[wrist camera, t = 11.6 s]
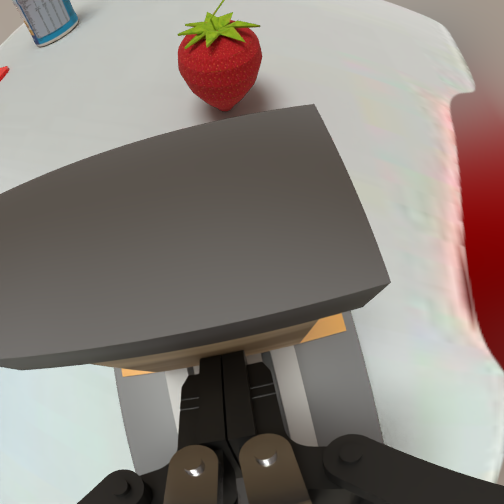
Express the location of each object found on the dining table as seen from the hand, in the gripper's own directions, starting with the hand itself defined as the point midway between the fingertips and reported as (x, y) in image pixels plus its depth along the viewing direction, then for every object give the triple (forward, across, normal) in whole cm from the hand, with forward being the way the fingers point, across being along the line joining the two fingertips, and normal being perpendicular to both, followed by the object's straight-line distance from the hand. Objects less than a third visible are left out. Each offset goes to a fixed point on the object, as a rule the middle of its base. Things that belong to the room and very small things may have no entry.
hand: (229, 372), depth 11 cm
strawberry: (+19, +3, +9) cm, 21 cm away
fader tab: (+4, 0, -1) cm, 4 cm away
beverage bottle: (+42, -21, +32) cm, 57 cm away
